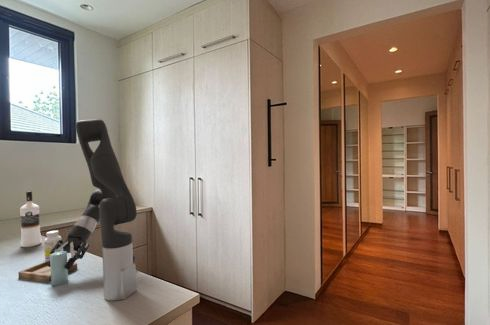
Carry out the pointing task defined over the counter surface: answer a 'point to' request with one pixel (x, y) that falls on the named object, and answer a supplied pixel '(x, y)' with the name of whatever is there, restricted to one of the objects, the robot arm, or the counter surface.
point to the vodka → (30, 223)
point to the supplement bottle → (51, 243)
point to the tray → (40, 272)
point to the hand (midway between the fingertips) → (57, 267)
